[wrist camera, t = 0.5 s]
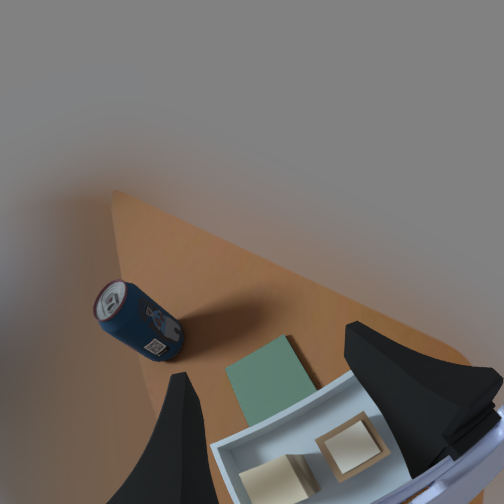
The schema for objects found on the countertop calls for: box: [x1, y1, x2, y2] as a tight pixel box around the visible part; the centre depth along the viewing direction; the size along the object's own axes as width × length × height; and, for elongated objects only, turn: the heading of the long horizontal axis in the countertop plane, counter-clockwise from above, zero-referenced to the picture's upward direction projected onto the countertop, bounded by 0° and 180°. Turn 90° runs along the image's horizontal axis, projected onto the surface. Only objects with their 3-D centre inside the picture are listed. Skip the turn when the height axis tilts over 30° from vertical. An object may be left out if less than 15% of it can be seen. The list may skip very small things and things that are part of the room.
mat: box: [225, 334, 317, 427], centre depth 29 cm, size 8×8×1 cm
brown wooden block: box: [315, 411, 391, 483], centre depth 19 cm, size 4×4×6 cm
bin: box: [210, 370, 412, 504], centre depth 20 cm, size 13×17×4 cm
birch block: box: [239, 454, 322, 504], centre depth 19 cm, size 4×4×6 cm
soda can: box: [93, 279, 184, 362], centre depth 35 cm, size 7×7×12 cm
